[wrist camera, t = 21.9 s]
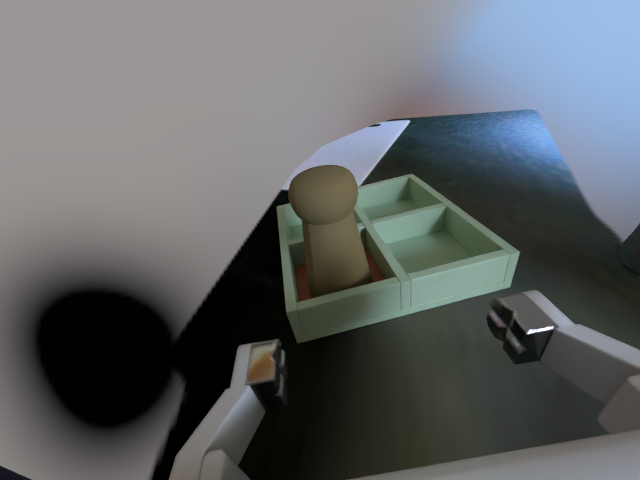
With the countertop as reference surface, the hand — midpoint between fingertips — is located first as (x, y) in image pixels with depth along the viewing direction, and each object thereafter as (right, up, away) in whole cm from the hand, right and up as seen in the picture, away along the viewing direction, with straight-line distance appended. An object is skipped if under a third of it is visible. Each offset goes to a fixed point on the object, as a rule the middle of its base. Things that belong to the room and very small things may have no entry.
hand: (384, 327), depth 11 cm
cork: (-1, -1, +15) cm, 15 cm away
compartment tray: (+3, +2, +20) cm, 20 cm away
